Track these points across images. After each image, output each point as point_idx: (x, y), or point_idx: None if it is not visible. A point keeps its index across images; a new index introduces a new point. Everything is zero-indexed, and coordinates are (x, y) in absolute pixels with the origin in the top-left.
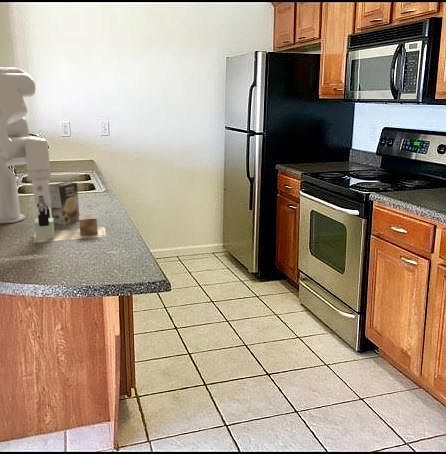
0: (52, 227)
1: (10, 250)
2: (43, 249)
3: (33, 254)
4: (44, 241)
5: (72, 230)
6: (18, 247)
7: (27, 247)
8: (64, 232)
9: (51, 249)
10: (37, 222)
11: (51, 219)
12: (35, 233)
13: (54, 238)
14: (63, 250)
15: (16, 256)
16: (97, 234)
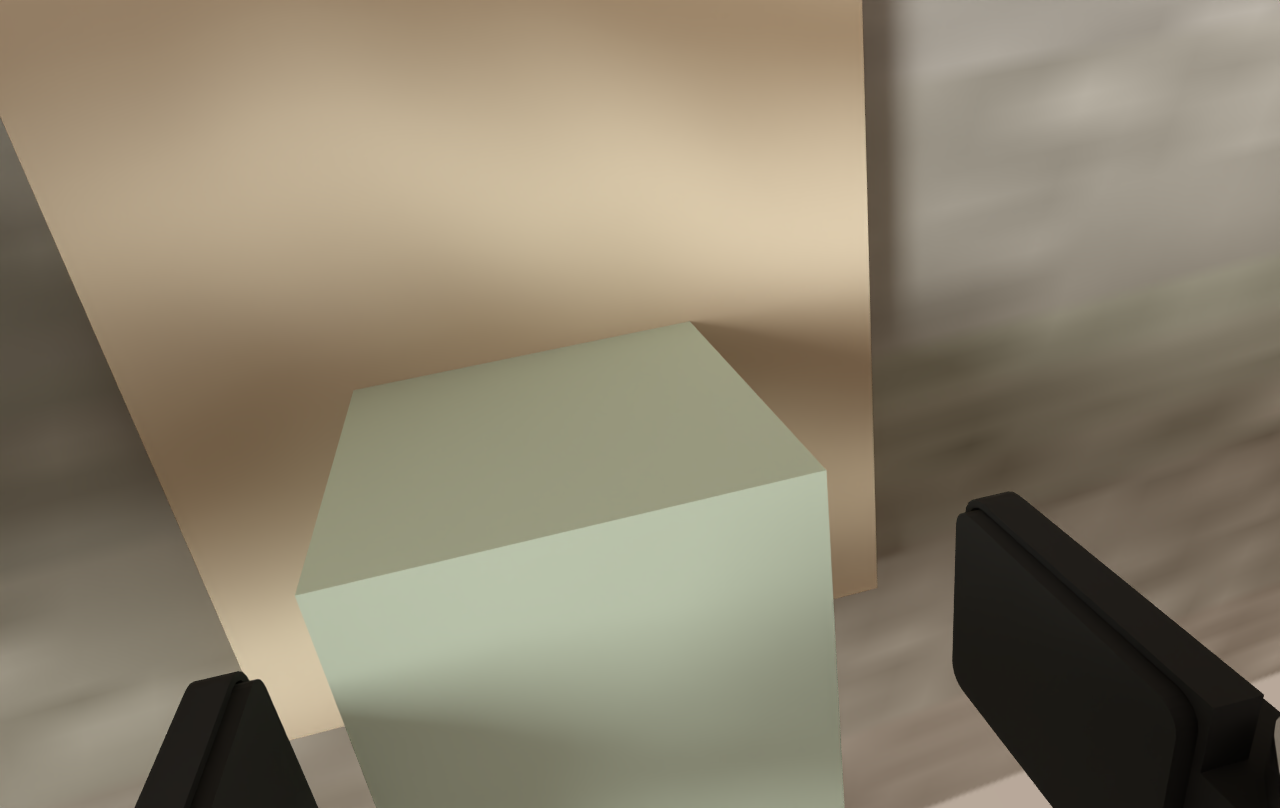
0: (765, 419)
1: (979, 740)
2: (1082, 368)
3: (1238, 438)
4: (860, 437)
5: (54, 10)
6: (886, 703)
7: (919, 602)
8: (263, 195)
9: (1126, 248)
10: (801, 794)
11: (536, 577)
12: (334, 719)
13: (715, 312)
14: (1251, 34)
15: (1223, 601)
16: None
